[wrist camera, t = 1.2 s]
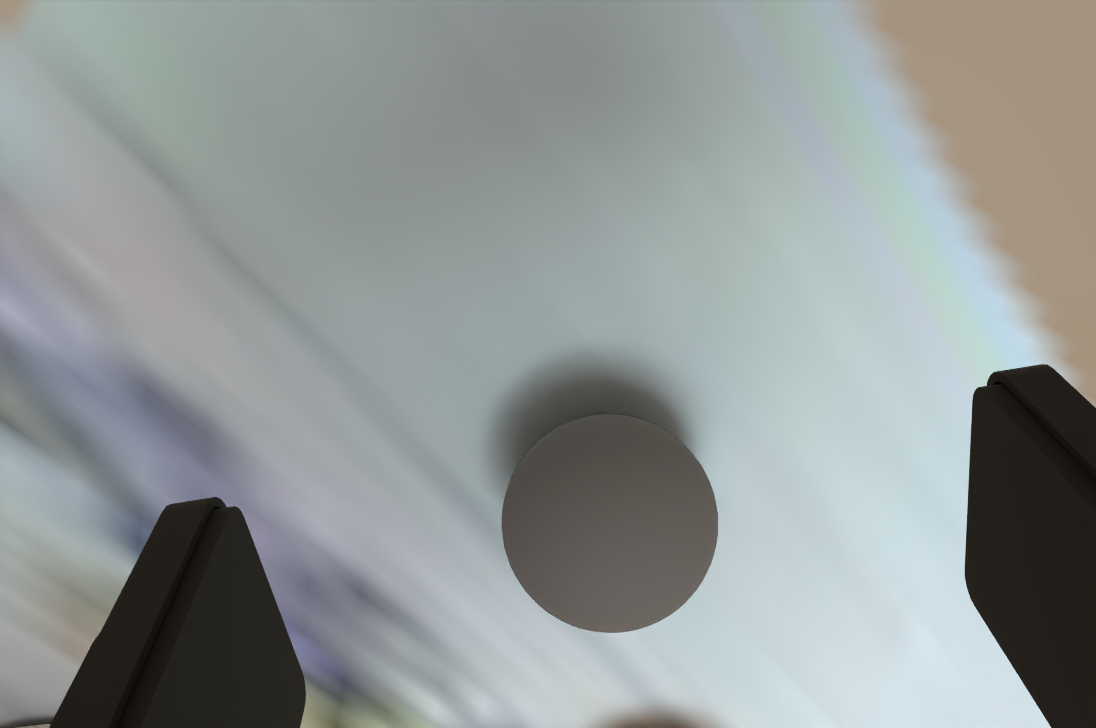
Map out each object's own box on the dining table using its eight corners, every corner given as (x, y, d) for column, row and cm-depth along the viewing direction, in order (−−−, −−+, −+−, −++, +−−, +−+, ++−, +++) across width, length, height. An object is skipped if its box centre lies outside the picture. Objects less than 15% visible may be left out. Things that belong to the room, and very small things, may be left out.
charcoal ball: (704, 525, 31) (746, 662, 26) (519, 554, 32) (523, 696, 26) (687, 360, 29) (730, 476, 23) (484, 394, 29) (481, 515, 24)
